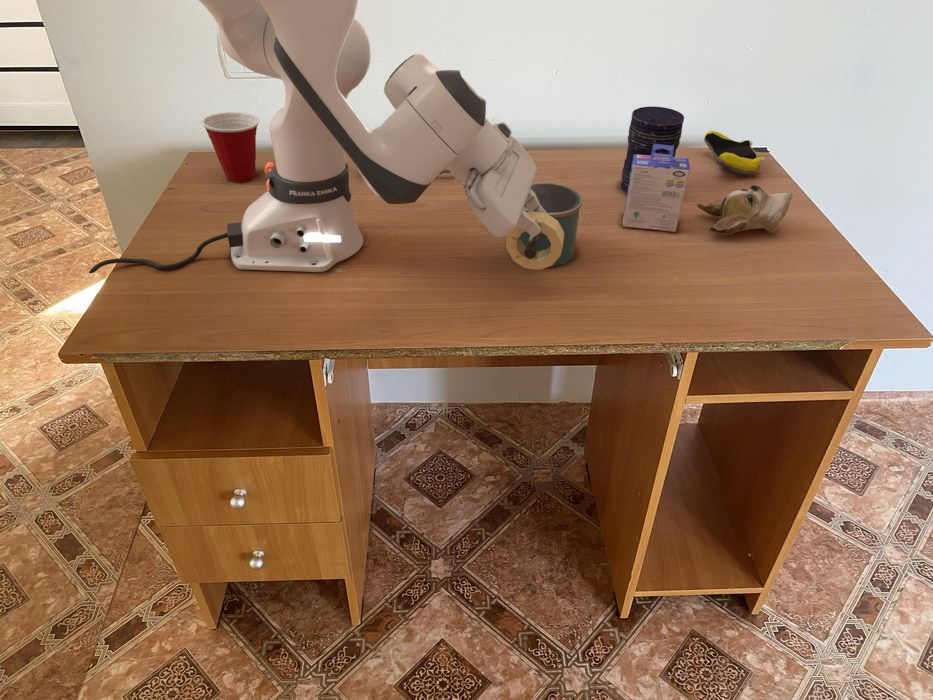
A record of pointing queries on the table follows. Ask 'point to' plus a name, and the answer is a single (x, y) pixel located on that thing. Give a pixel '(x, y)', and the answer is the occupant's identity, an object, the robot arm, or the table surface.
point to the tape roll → (542, 257)
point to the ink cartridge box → (656, 190)
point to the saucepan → (561, 207)
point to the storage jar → (651, 135)
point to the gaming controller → (733, 154)
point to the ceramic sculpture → (748, 210)
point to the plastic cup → (234, 143)
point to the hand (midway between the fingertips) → (540, 225)
